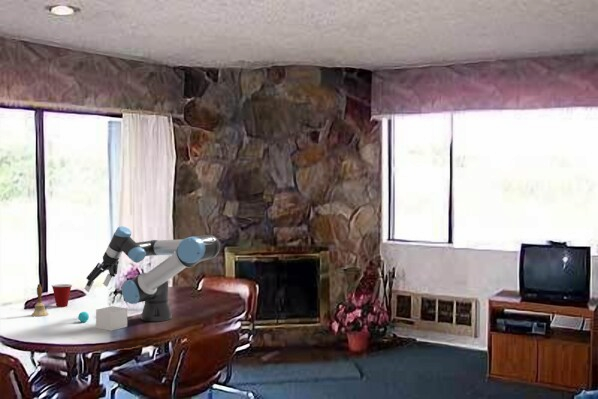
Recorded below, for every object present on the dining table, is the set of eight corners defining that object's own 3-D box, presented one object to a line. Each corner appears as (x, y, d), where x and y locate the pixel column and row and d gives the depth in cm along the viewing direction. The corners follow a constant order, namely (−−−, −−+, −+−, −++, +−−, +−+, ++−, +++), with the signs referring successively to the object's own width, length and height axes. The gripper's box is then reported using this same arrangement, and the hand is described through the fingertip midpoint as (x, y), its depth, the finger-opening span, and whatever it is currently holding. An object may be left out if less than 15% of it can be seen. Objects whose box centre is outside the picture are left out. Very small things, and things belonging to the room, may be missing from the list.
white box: (127, 326, 336) (127, 308, 335) (111, 330, 327) (110, 312, 327) (112, 323, 341) (112, 306, 341) (96, 327, 333) (96, 309, 332)
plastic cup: (75, 304, 387) (75, 282, 387) (67, 308, 377) (67, 286, 376) (57, 303, 388) (56, 282, 388) (48, 307, 378) (47, 285, 377)
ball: (91, 321, 346) (91, 311, 345) (83, 323, 341) (82, 313, 341) (84, 320, 348) (84, 310, 348) (76, 322, 344) (76, 312, 344)
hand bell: (42, 317, 355) (42, 286, 354) (28, 316, 357) (27, 285, 356) (51, 313, 363) (51, 283, 362) (37, 312, 365) (37, 282, 364)
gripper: (123, 246, 361) (107, 278, 368) (90, 253, 339) (73, 288, 345) (133, 255, 359) (117, 287, 365) (100, 262, 336) (83, 297, 343)
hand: (95, 287), depth 355 cm, fingers open, 13 cm apart
